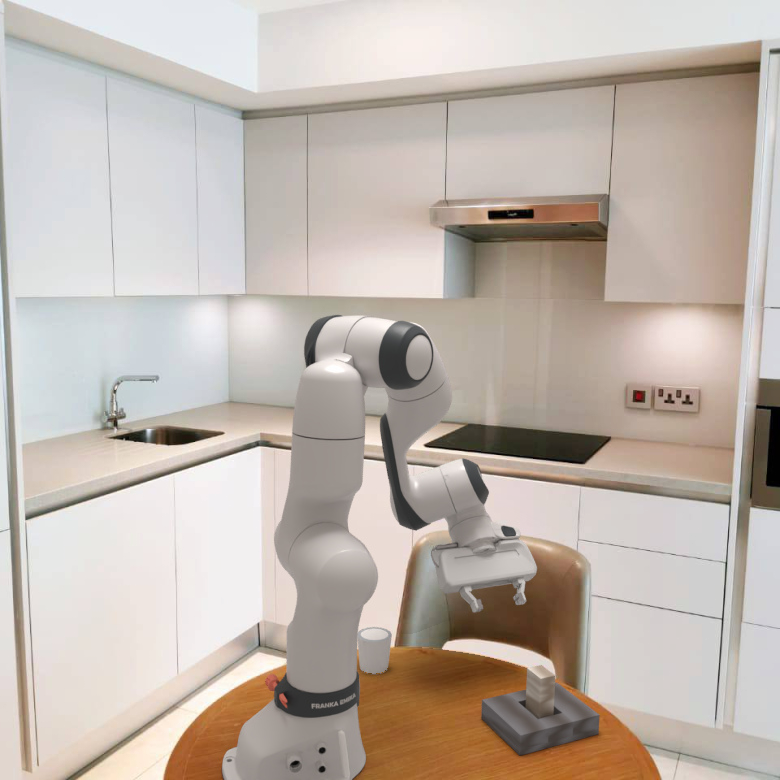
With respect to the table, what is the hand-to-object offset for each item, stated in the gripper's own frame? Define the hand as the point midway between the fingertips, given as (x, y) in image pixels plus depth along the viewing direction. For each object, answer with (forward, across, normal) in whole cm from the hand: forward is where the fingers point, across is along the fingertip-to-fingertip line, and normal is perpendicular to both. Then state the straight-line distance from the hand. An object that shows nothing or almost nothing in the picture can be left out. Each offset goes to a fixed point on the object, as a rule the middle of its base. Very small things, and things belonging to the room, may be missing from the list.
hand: (500, 607), depth 145 cm
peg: (+20, 0, +2) cm, 20 cm away
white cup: (0, -18, +24) cm, 30 cm away
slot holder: (+21, 0, +3) cm, 21 cm away
